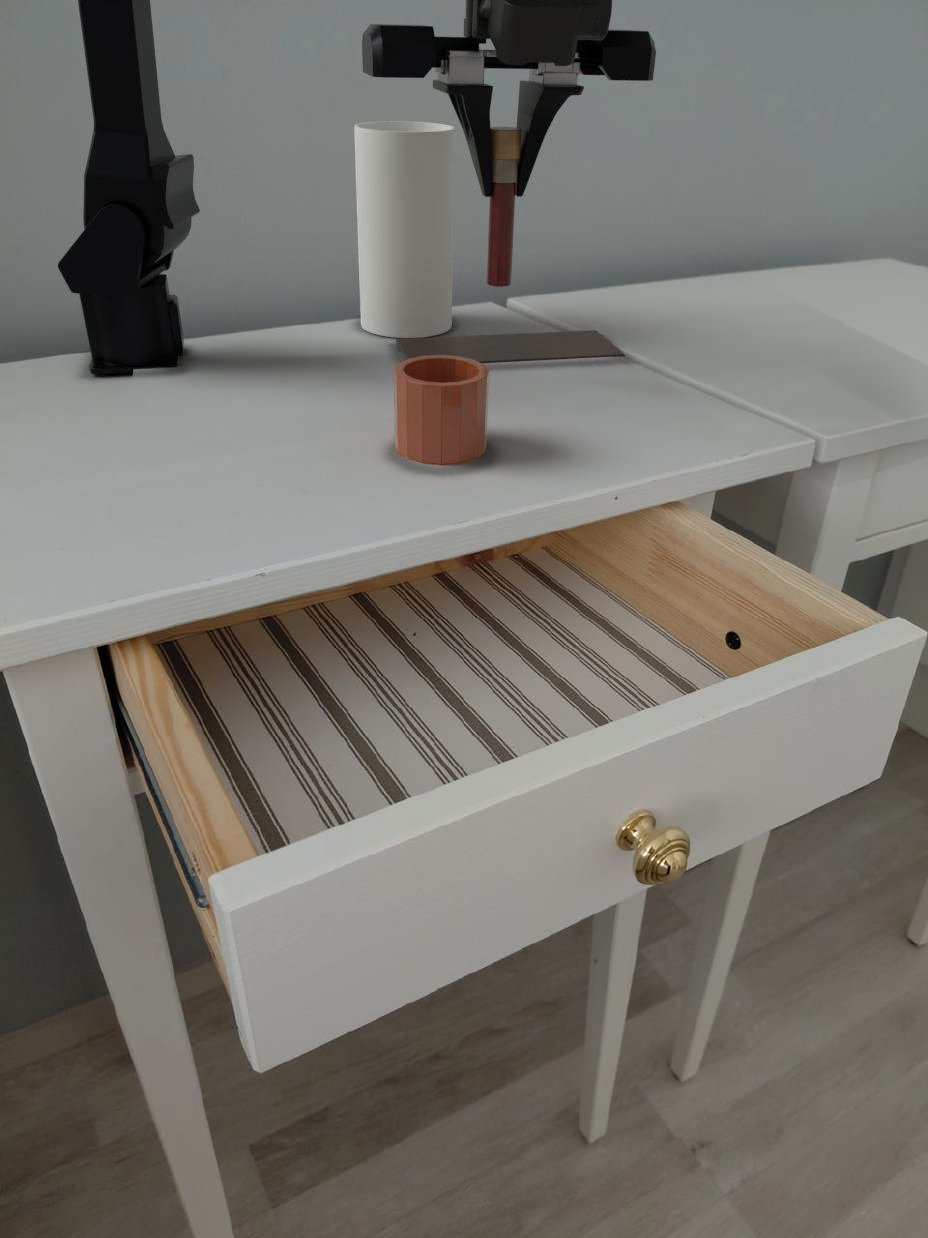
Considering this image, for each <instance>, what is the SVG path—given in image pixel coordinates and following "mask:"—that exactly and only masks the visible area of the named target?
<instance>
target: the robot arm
mask: <svg viewBox="0 0 928 1238" xmlns="http://www.w3.org/2000/svg"><path fill="white" fill-rule="evenodd" d="M77 5H78V12H79V20H80V27H81V36H82V42H83V50H84V57H85V64H86V65H85V66H86V72H87V80H88V87H89V96H90V103H91V110H92V117H93V130H92V137H91V141H90V145H89V149H88V150H89V151H88V155H87V160H86V165H85V169H84V175H83V211H82V212H83V215H82V217H83V220H82V221H83V229H84V230H83V231H82V232H81V233H80V234H79V236H78V237H77V238H76V239H75V241H74V242H73V244H72V245H71V246H70V247H69V249H68V250H67V251H66V253H64V255H63V256H62V258H61V259H60V260H59V261H58V263H57V268H58V271H59V272H60V274H61V276H62V278H63V279H64V282H65V284H66V285H67V287H68V288H69V291H70V292H71V293H72V294H78V295H79V301H80V303H81V304H80V305H81V310H82V315H83V319H84V325H85V326H84V327H85V330H86V335H87V340H88V345H89V350H90V355H91V360H90V363H89V366H88V367H89V368H88V369H89V374H91V375H108V374H110V375H111V374H130V373H131V374H133V373H134V370H144V369H145V370H147V369H166V368H167V369H168V368H176V367H178V366H179V363H180V357H182V356H183V355H184V354H185V339H184V332H183V326H182V318H181V317H182V316H181V311H180V303H179V298H178V296H177V294H170V289H169V281H168V275H167V274H165V273H164V272H165V271H168V270H170V268H171V266H172V262H173V257H174V252H175V250H176V249H178V248H179V247H180V246H181V245H182V243H184V242H185V240H186V239H187V237H188V236H189V235H190V232H191V228H192V221H193V220H192V219H193V217H194V216H197V214H199V213H200V212H201V209H200V206H199V205H198V202H197V200H196V196H195V192H194V173H195V160H194V158H195V157H194V155H193V154H191V153H185V154H177V155H176V154H175V152H174V150H173V147H172V145H171V142H170V141H169V138H168V135H167V134H166V131H165V128H164V124H163V120H162V110H161V99H160V89H159V80H158V79H159V78H158V69H157V59H156V58H157V57H156V48H155V39H154V28H153V18H152V7H151V0H77ZM612 12H613V0H465V18H463V36H440V35H439V36H435V30H434V26H433V25H423V24H393V23H391V24H390V23H370V24H369V25H368V26H367V28H366V29H365V30H364V32H363V33H362V37H361V56H362V57H361V58H362V61H361V62H362V73H364V74H365V75H368V76H370V77H373V78H383V79H384V78H387V79H390V78H391V79H400V78H401V79H424V78H425V77H426V76H427V75H428V74H429V72H431V70H432V69H433V68H434V69H435V71H434V72H435V73H437V79H432V89H434V90H437V91H439V92H441V93H445V94H447V95H448V97H449V101H450V102H451V104H452V107H453V109H454V112H455V114H456V116H457V119H458V121H459V123H460V126H461V128H462V131H463V134H464V137H465V140H466V144H467V147H468V150H469V154H470V157H471V160H472V164H473V168H474V171H475V174H476V178H477V181H478V184H479V187H480V191H481V194H482V196H483V197H485V198H490V196H491V189H492V151H491V129H490V128H491V106H492V99H493V90H494V85H491V84H487V83H485V69H497V70H498V69H499V70H500V69H501V70H505V69H506V70H529V73H528V74H529V75H528V80H523V79H522V80H521V79H520V80H519V91H518V103H517V116H516V128H520V129H521V148H520V158H518V179H517V182H516V191H515V197H519V198H520V197H521V198H522V197H523V196H524V194H525V191H526V189H527V186H528V183H529V181H530V178H531V176H532V172H533V170H534V167H535V165H536V161H537V159H538V156H539V154H540V150H541V148H542V146H543V143H544V141H545V138H546V135H547V133H548V131H549V130H550V127H551V125H552V123H553V121H554V119H555V117H556V115H557V114H558V112H559V111H560V109H561V108H562V107H563V105H565V103H566V101H567V100H568V99H569V98H570V97H572V96H582V94H583V92H584V89H585V86H584V85H579V84H578V77H579V76H580V75H582V76H605V77H606V79H607V80H608V81H634V82H635V81H636V82H641V81H642V82H651V81H653V80H654V74H655V66H656V56H657V50H656V49H657V48H656V45H655V44H656V43H655V40H654V38H653V37H652V35H651V33H650V32H649V31H648V30H633V29H609V28H610V23H611V18H612ZM487 40H490V41H491V43H492V45H493V47H494V49H492V48H491V49H489V48H486V49H484V48H482V49H481V48H480V45H487Z"/></svg>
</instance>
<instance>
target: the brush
mask: <svg viewBox="0 0 928 1238" xmlns="http://www.w3.org/2000/svg"><path fill="white" fill-rule="evenodd" d="M516 127H517V126H516ZM516 127H515V126H490V129H491V151H492V189H491V196H490V197H489V208H488V210H489V212H488V213H489V214H488V236H487V238H488V239H487V267H486V284H487V285H488V286H492V287H495V288H496V287H497V288H498V287H499V288H501V287H502V288H503V287H508V286H511V285H512V272H513V253H514V252H513V250H514V249H513V248H514V229H515V210H516V209H515V207H516V195H515V191H516V182H517V179H518V158H520V148H521V129H520V128H516Z"/></svg>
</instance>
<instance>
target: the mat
mask: <svg viewBox="0 0 928 1238" xmlns="http://www.w3.org/2000/svg"><path fill="white" fill-rule="evenodd" d="M395 346H396V348H397V350H398V352H402V354H403V356H404V358H405V360H407V359H410V358H415V357H420V356H430V355H449V356H458V357H464V358H468V359H473V360H476V361H478V362H480V363H482V364H494V363H513V362H533V361H534V362H535V361H551V360H552V361H553V360H572V359H594V358H611V357H612V358H613V357H625V356H626V354H625V352H623V351H622V350H621V349H619V348H618V347H617V346H616V345H614V344H613V343H612V342H611V341H610V340H608V338H606V337H605V336H604V335H602V334H601V333H600V332H599V331H597V329H594V330H593V329H592V330H591V329H590V330H571V331H570V330H569V331H550V332H549V331H548V332H547V331H546V332H525V333H524V332H523V333H502V334H501V333H500V334H483V335H481V334H480V335H458V336H457V335H455V336H437V337H436V336H435V337H434V336H431V337H421V338H395Z"/></svg>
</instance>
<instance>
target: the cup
mask: <svg viewBox="0 0 928 1238" xmlns="http://www.w3.org/2000/svg"><path fill="white" fill-rule="evenodd" d="M353 137H354V166H355V193H356V194H355V195H356V221H357V223H356V224H357V227H356V228H357V248H358V249H357V253H358V254H357V255H358V256H357V257H358V279H359V280H358V281H359V283H358V284H359V308H360V309H359V310H360V311H359V313H360V327H361V328H362V329H363V330H364V331H365V332H368V333H370V334H374V335H377V336H382V337H385V338H395V339H410V338H430V337H434V336H435V337H436V336H438V335H441V334H442V335H443V334H444V333H447V332H448V331H449V330H451V328H452V324H453V281H454V280H453V278H454V277H453V275H454V272H453V271H454V224H455V223H454V222H455V221H454V220H455V169H456V167H455V166H456V165H455V163H456V159H455V158H456V128H455V126H452V125H450V124H444V123H438V122H427V121H412V120H411V121H409V120H391V121H390V120H386V121H385V120H384V121H383V120H382V121H366V122H359V123H356V124H354V129H353Z"/></svg>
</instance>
